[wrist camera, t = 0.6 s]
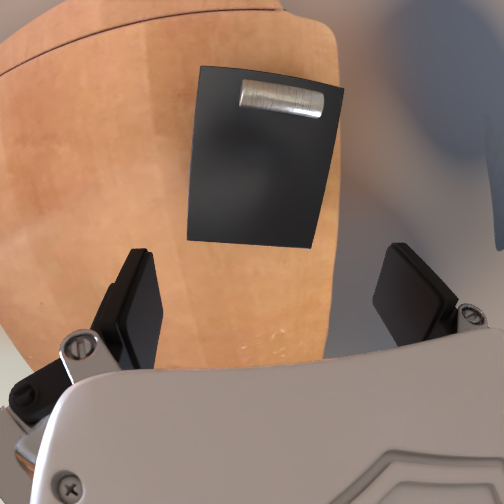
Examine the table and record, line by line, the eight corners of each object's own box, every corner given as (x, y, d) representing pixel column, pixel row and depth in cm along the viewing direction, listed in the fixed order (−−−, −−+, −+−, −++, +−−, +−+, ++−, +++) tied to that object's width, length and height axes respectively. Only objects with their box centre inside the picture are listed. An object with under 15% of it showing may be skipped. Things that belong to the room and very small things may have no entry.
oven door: (201, 66, 18) (194, 56, 13) (340, 88, 19) (371, 88, 15) (187, 236, 25) (180, 269, 20) (308, 245, 26) (325, 277, 22)
